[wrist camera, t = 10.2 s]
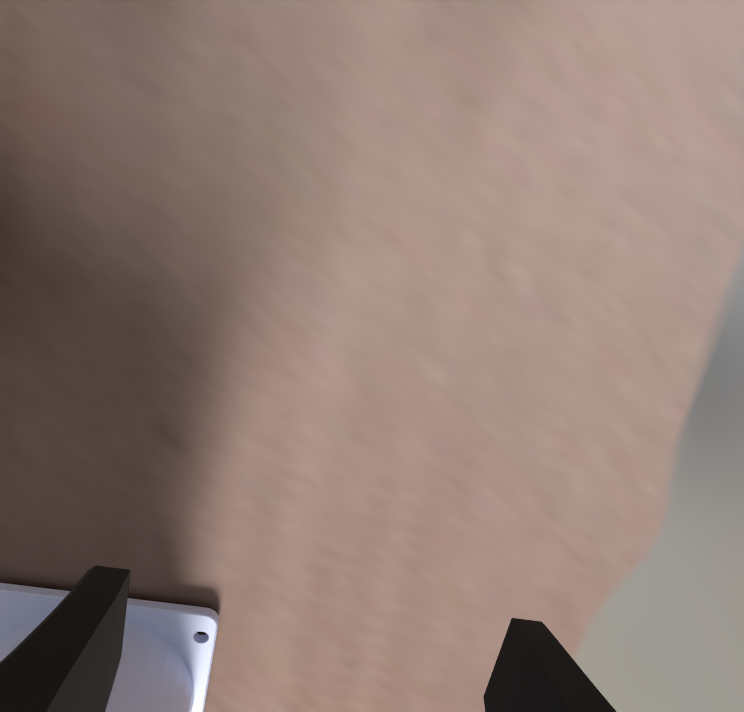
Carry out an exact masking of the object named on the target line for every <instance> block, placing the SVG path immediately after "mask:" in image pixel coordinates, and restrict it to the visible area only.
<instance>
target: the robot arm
mask: <svg viewBox="0 0 744 712" xmlns="http://www.w3.org/2000/svg"><path fill="white" fill-rule="evenodd" d="M130 571H131V570H126V569H118V568H110V567H103V566H94V567H93V568H91V569H90V570H88V572H87V573H86V574H85V575H84V576H83V578H82V579H81V580H80V581H79V582H78V583H77V585H76V586H75V587H74V588H73V589H72V590H71V591H64V590H56V589H48V588H39V587H31V586H23V585H14V584H6V583H0V712H204V706H205V700H206V695H207V689H208V683H209V677H210V671H211V665H212V659H213V653H214V647H215V641H216V635H217V630H218V624H219V616H218V614H217V613H216V612H215V611H214V610H212V609H210V608H206V607H197V606H189V605H181V604H172V603H164V602H156V601H147V600H139V599H131V598H128V590H129V581H130ZM197 632H205V633H207V634H206V635H201V634H198V633H197ZM484 704H485V712H616V711H615V709H614V708H613V707H612V706H611V705H610V704H609V702H608V701H607V700H606V699H605V698H604V696H603V695H602V694H601V693H600V692H599V691H598V689H597V688H596V687H595V686H594V684H593V683H592V682H591V681H590V680H589V678H588V677H587V676H586V675H585V674H584V672H583V671H582V670H581V669H580V667H579V666H578V665H577V664H576V663H575V661H574V660H573V659H572V658H571V656H570V655H569V654H568V653H567V651H566V650H565V649H564V648H563V646H562V645H561V644H560V643H559V642H558V640H557V639H556V638H555V637H554V635H553V634H552V633H551V632H550V631H549V630H548V628H547V627H546V626H545V625H544V624H543V623H542V622H540V621H532V620H524V619H516V618H512V619H511V622H510V625H509V628H508V630H507V633H506V636H505V639H504V641H503V644H502V647H501V650H500V652H499V655H498V658H497V661H496V664H495V666H494V669H493V672H492V675H491V677H490V680H489V683H488V686H487V688H486V691H485V694H484Z"/></svg>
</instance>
